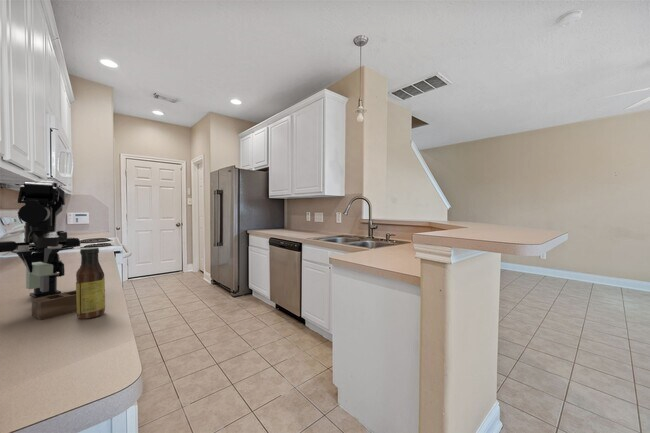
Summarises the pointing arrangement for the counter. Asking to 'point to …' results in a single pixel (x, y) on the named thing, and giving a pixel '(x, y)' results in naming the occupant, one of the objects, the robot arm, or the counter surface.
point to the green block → (39, 276)
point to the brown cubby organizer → (54, 305)
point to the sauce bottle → (90, 285)
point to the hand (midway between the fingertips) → (38, 271)
